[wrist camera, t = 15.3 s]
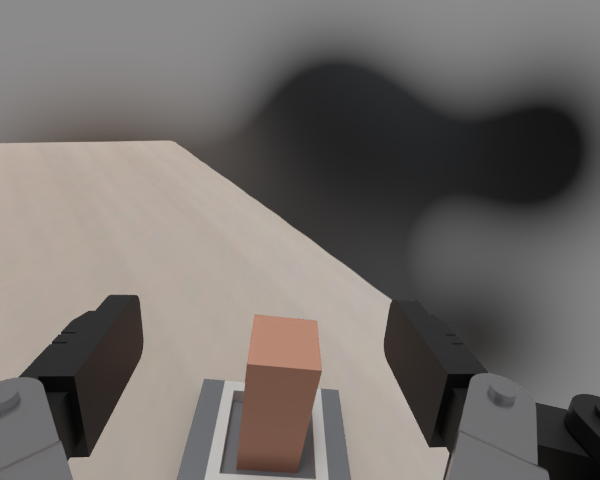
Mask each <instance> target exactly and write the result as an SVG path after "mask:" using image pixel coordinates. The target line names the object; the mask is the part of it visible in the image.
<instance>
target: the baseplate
mask: <svg viewBox="0 0 600 480" xmlns="http://www.w3.org/2000/svg"><path fill="white" fill-rule="evenodd" d="M244 389H245V382H234V381H222V380H210V379H204V382H203V385H202V389H201V393H200V396H199V400H198V404H197V407H196V411H195V415H194V418H193V422H192V426H191V429H190V433H189V437H188V440H187V444H186V448H185V451H184V455H183V459H182V462H181V466H180V469H179V473H178V477H177V480H351V477H350V470H349V463H348V456H347V448H346V441H345V434H344V427H343V420H342V413H341V406H340V398H339V391H338V390H330V389H319V388H317V392H316V397H315V401H314V405H313V409H312V413H311V417H310V421H309V425H308V429H307V434H306V438H305V442H304V446H303V450H302V454H301V458H300V462H299V466H298V471H297V473H284V472H269V471H253V470H238V469H236V466H237V456H238V447H239V437H240V427H241V418H242V408H243V398H244Z"/></svg>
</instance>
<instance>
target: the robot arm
mask: <svg viewBox="0 0 600 480" xmlns="http://www.w3.org/2000/svg"><path fill="white" fill-rule="evenodd" d="M142 350H143V330H142V320H141V310H140V301H139V298H138V296H137V295H109V296H108V297H107V298H106V299H105V300H104V301H103V302H102V304H101V305H100V306H99V307H98V308H97V309H96V310H95V311H88V312H86V313H84V314H83V315H81V316H79V317H78V318H76V319H74V320H72V321H71V322H70V323H69V325H68V326H67V327H66V328H65V329H64V330H63V331H62V332H61V335H58V336H57V337H56V338H55V339H54V340H53V341H52V344H50V345H49V346H48V347H47V348H46V349H45V350H44V351H43V352H42V353H41V354H40V355H39V356H38V357H37V358H36V359H35V360H34V361H33V363H32V364H31V365H30V366H29V367H28V368H27V369H26V370H25V371H24V372H23V373H22V374H21V375H20V376H19V377H18V378H12V379H7V380H4V381H1V382H0V480H73V478H72V475H71V471H70V468H69V465H68V460H69V458H70V457H89V456H90V454H91V452H92V450H93V449H94V447H95V445H96V443H97V441H98V439H99V437H100V435H101V433H102V431H103V429H104V427H105V425H106V424H107V422H108V420H109V418H110V416H111V414H112V412H113V410H114V408H115V406H116V404H117V402H118V400H119V399H120V397H121V395H122V393H123V391H124V389H125V387H126V385H127V383H128V381H129V379H130V377H131V376H132V374H133V372H134V370H135V368H136V366H137V364H138V362H139V360H140V358H141V355H142ZM384 352H385V357H386V359H387V362H388V364H389V366H390V368H391V370H392V372H393V374H394V376H395V378H396V380H397V382H398V384H399V386H400V388H401V390H402V392H403V394H404V397H405V399H406V401H407V403H408V405H409V407H410V409H411V411H412V413H413V415H414V417H415V419H416V421H417V423H418V425H419V427H420V429H421V431H422V433H423V435H424V437H425V440H426V442H427V444H428V446H429V447H446V448H447V449H448V451H449V453H450V454H449V458H448V461H447V465H446V469H445V473H444V477H443V480H600V397H598V396H594V395H589V394H580V395H576V396H574V397H573V398H572V401H571V403H570V406H569V408H568V410H566V409H561V408H557V407H553V406H548V405H544V404H539V403H535V402H534V399H533V398H532V396H531V395H530V394H529V393H528V392H527V391H526V390H525V389H524V388H523V387H521V386H520V385H518V384H517V383H515V382H513V381H511V380H510V379H507V378H505V377H502V376H499V375H495V374H490V373H488V372H487V370H486V369H485V368H484V367H483V366H482V365H481V363H480V362H479V361H478V360H477V359H476V358H475V357H474V355H473V354H472V353H471V352H470V351H469V349H468V348H467V347H466V346H464V345H463V342H461V340H460V339H459V338H458V337H456V334H455V333H454V332H453V331H452V330H451V328H450V327H449V326H448V325H447V324H446V323H444V322H443V321H441V320H440V319H438V318H437V317H435V316H434V315H429V314H428V313H427V312H426V310H425V309H424V308H423V307H422V305H421V304H420V303H419V302H418V301H417V300H392V302H391V304H390V309H389V314H388V320H387V326H386V332H385V338H384Z"/></svg>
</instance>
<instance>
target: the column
mask: <svg viewBox="0 0 600 480" xmlns="http://www.w3.org/2000/svg"><path fill="white" fill-rule="evenodd" d="M321 372H322V367H321V357H320V346H319V335H318V324H317V321H314V320H304V319H294V318H284V317H274V316H264V315H254V321H253V328H252V335H251V341H250V348H249V355H248V361H247V370H246V379H245V389H244V398H243V408H242V418H241V427H240V437H239V447H238V456H237V466H236V469H238V470H253V471H269V472H284V473H297V471H298V466H299V462H300V458H301V454H302V450H303V446H304V442H305V438H306V434H307V429H308V425H309V421H310V417H311V413H312V409H313V405H314V401H315V397H316V392H317V388H318V384H319V380H320V376H321Z"/></svg>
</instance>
